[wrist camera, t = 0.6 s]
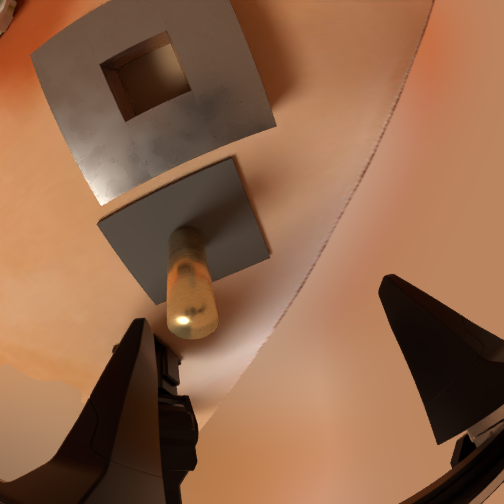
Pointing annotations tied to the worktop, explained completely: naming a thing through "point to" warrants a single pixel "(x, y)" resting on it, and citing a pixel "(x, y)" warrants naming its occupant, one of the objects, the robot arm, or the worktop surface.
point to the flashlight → (6, 13)
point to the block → (164, 115)
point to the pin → (189, 286)
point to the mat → (187, 214)
